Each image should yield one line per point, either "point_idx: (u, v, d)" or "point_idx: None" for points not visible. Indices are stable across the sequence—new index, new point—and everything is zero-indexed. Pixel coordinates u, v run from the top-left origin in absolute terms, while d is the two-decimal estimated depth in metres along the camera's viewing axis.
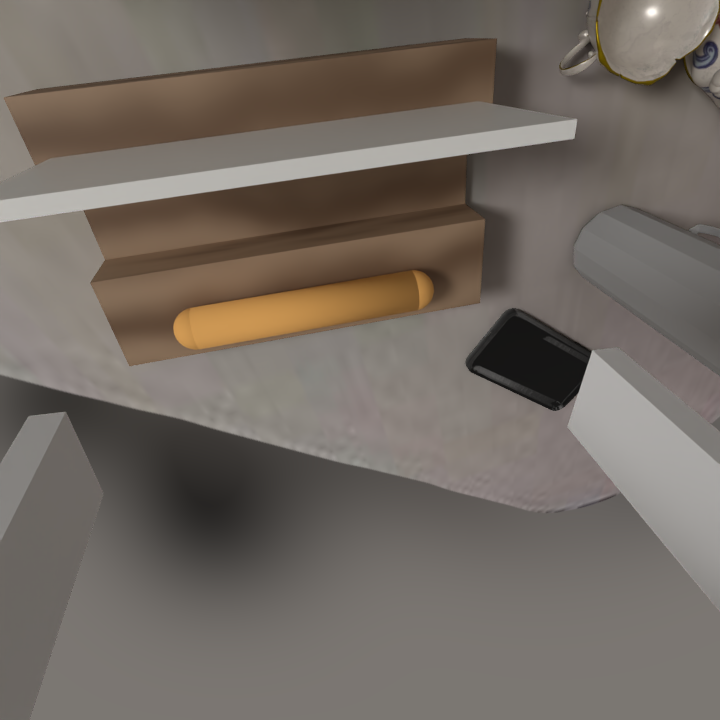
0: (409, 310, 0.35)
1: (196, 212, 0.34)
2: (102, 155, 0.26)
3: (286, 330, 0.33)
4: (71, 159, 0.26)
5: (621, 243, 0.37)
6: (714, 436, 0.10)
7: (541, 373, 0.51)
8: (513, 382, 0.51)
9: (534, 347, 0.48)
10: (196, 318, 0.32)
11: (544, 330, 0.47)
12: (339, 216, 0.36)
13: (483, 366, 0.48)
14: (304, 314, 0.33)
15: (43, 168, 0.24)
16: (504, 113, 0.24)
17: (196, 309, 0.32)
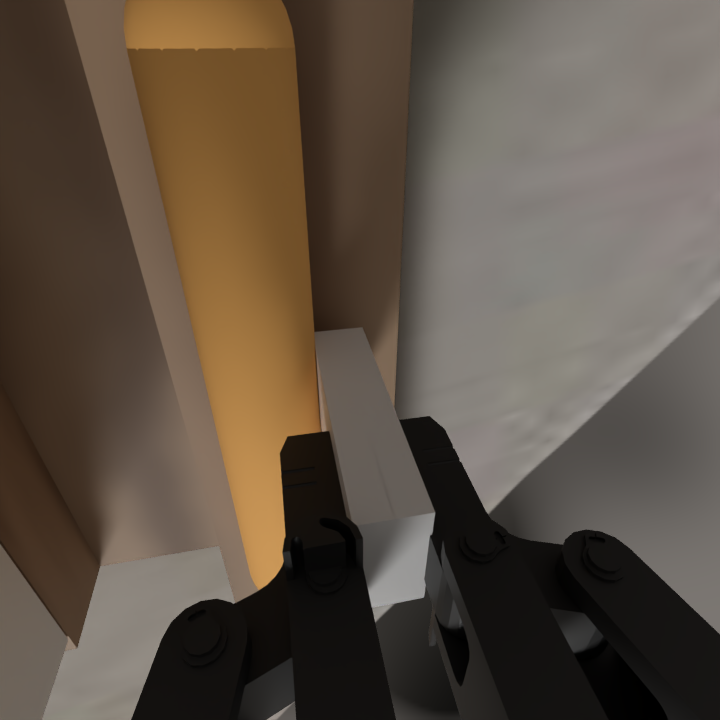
0: (214, 96, 0.08)
1: (158, 448, 0.21)
2: None
3: (260, 473, 0.13)
4: None
5: None
6: (381, 402, 0.11)
7: None
8: None
9: None
10: None
11: None
12: None
13: None
14: (218, 422, 0.12)
15: None
16: None
17: None
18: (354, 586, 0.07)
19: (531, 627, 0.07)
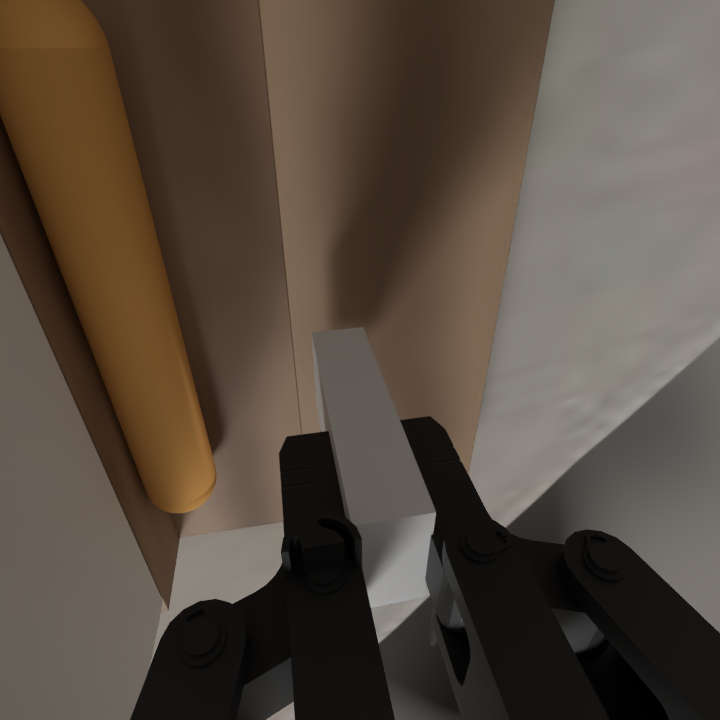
0: (60, 81, 0.11)
1: (247, 424, 0.22)
2: None
3: (144, 385, 0.16)
4: None
5: None
6: (383, 402, 0.11)
7: None
8: None
9: None
10: (143, 483, 0.20)
11: None
12: (262, 191, 0.16)
13: None
14: (100, 349, 0.15)
15: None
16: None
17: None
18: (353, 586, 0.07)
19: (532, 627, 0.07)
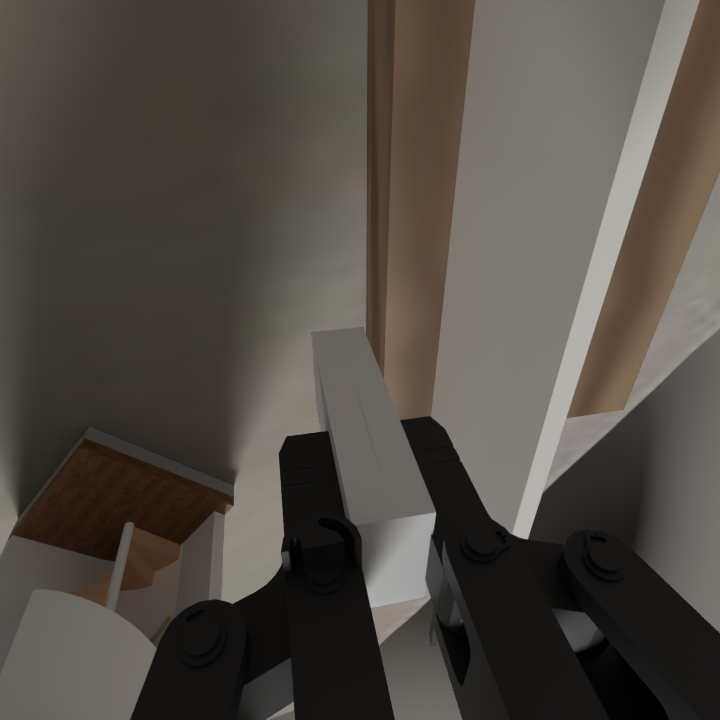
0: None
1: None
2: (443, 406, 0.28)
3: None
4: None
5: None
6: (382, 402, 0.11)
7: None
8: None
9: None
10: None
11: None
12: None
13: None
14: None
15: None
16: None
17: None
18: (353, 586, 0.07)
19: (532, 627, 0.07)
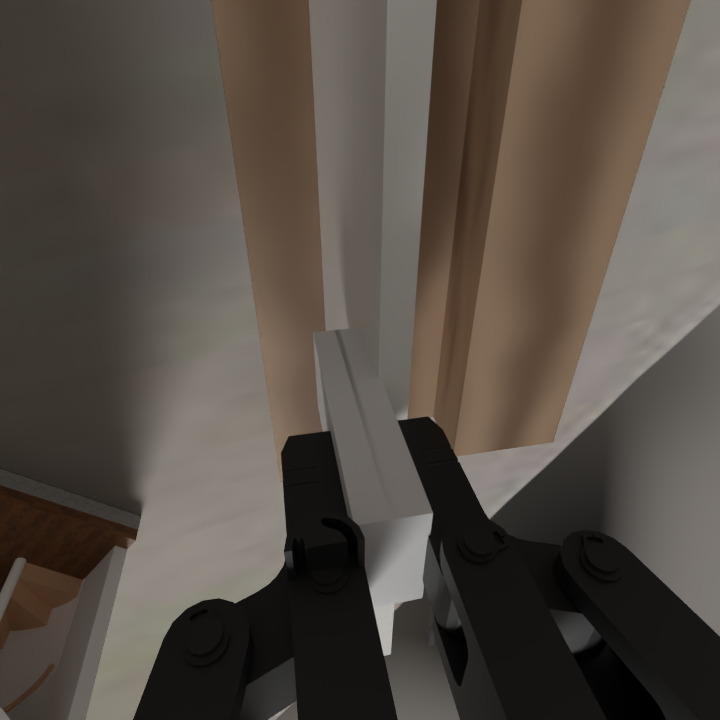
0: None
1: None
2: None
3: None
4: None
5: None
6: (379, 403, 0.11)
7: None
8: None
9: None
10: None
11: None
12: (453, 145, 0.23)
13: None
14: None
15: None
16: None
17: None
18: (356, 586, 0.07)
19: (529, 628, 0.07)
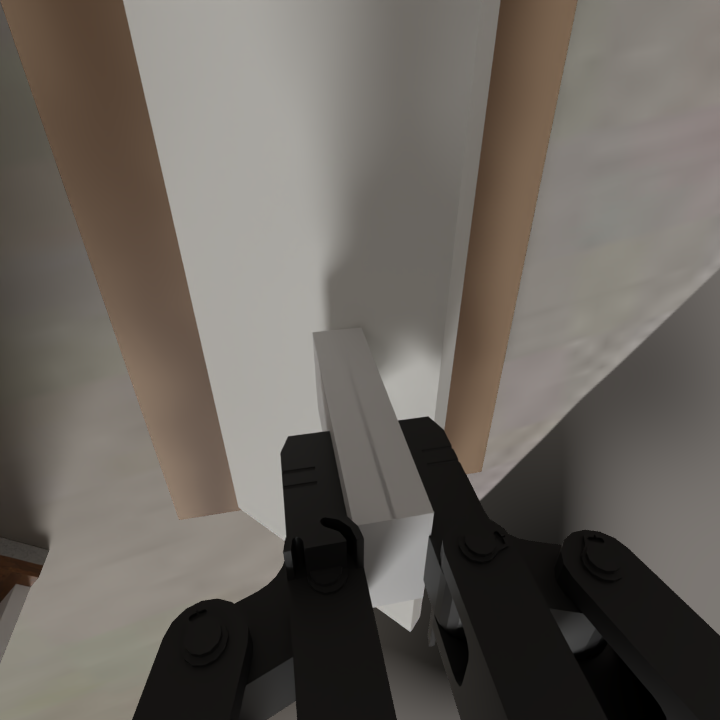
0: None
1: None
2: (253, 480, 0.23)
3: None
4: (257, 503, 0.24)
5: None
6: (380, 402, 0.11)
7: None
8: None
9: None
10: None
11: None
12: None
13: None
14: None
15: None
16: None
17: None
18: (355, 586, 0.07)
19: (530, 628, 0.07)
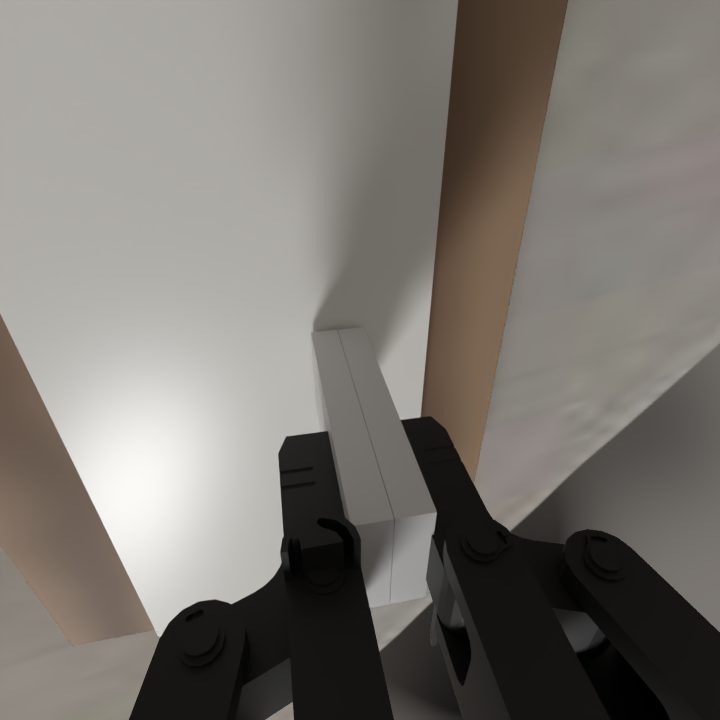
0: None
1: None
2: (184, 584, 0.19)
3: None
4: None
5: None
6: (383, 402, 0.11)
7: None
8: None
9: None
10: None
11: None
12: None
13: None
14: None
15: None
16: None
17: None
18: (352, 587, 0.07)
19: (532, 627, 0.07)
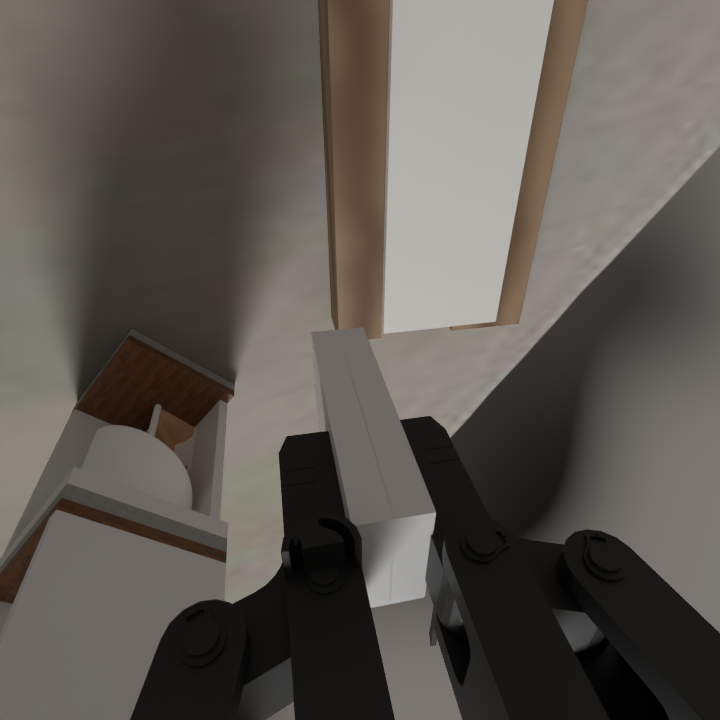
0: None
1: None
2: (404, 298, 0.41)
3: None
4: (403, 315, 0.42)
5: None
6: (382, 402, 0.11)
7: None
8: None
9: None
10: None
11: None
12: None
13: None
14: None
15: (423, 320, 0.43)
16: None
17: None
18: (353, 586, 0.07)
19: (532, 627, 0.07)
